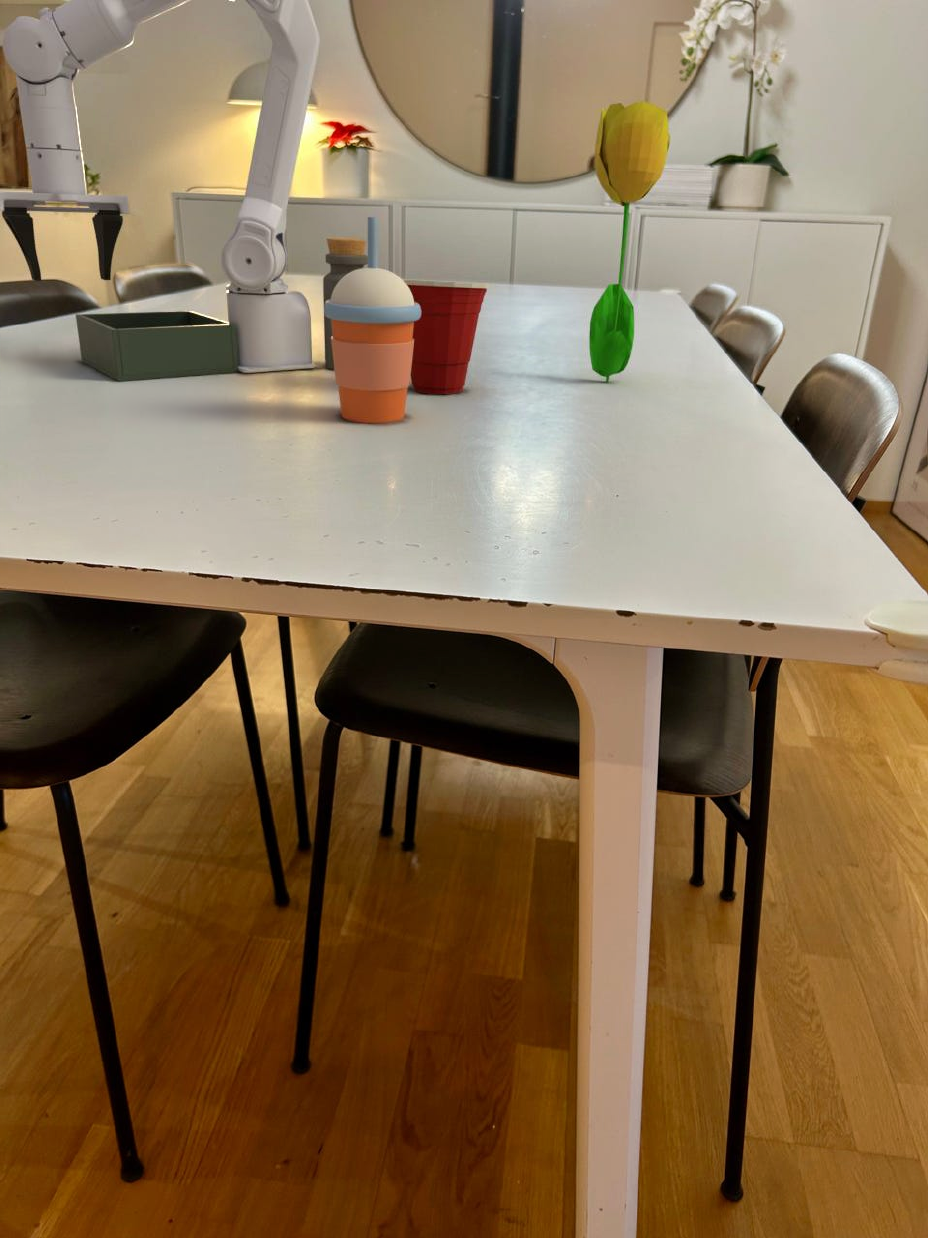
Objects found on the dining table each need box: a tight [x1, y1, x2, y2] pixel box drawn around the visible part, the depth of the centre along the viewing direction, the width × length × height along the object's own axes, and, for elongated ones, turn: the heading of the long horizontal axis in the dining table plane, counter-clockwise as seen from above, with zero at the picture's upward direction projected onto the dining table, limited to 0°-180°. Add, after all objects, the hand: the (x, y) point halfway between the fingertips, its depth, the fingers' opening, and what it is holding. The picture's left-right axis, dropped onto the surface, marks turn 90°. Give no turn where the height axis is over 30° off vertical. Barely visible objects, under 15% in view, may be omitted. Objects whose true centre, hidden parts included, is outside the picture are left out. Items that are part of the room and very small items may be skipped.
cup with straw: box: [323, 216, 421, 424], centre depth 85 cm, size 9×9×18 cm
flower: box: [588, 100, 671, 384], centre depth 105 cm, size 9×8×30 cm
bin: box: [75, 310, 240, 382], centre depth 108 cm, size 14×14×6 cm
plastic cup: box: [402, 279, 491, 395], centre depth 100 cm, size 11×11×12 cm
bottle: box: [322, 237, 368, 370], centre depth 111 cm, size 6×6×15 cm
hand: (71, 279), depth 106 cm, fingers open, 7 cm apart
